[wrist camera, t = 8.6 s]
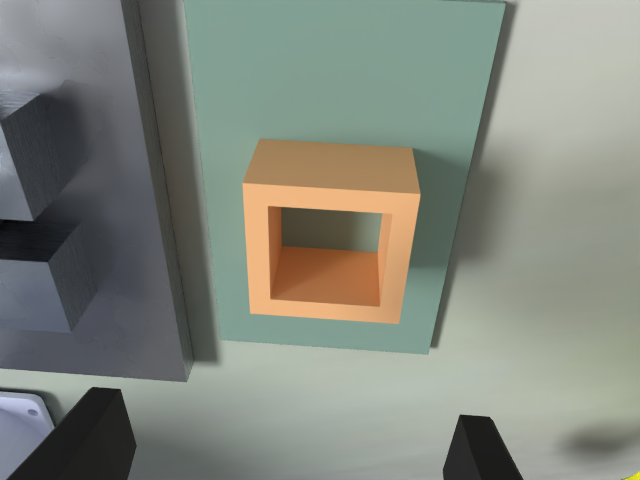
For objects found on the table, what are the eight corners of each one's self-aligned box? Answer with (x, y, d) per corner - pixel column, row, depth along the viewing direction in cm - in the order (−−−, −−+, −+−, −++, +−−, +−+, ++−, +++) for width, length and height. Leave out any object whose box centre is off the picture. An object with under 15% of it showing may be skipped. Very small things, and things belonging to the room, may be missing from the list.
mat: (427, 347, 23) (428, 354, 22) (222, 333, 23) (220, 339, 23) (502, 0, 15) (506, 3, 14) (186, -15, 15) (182, -13, 15)
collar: (394, 268, 20) (398, 324, 17) (263, 259, 20) (250, 313, 18) (411, 147, 17) (420, 193, 15) (259, 138, 17) (242, 183, 15)
